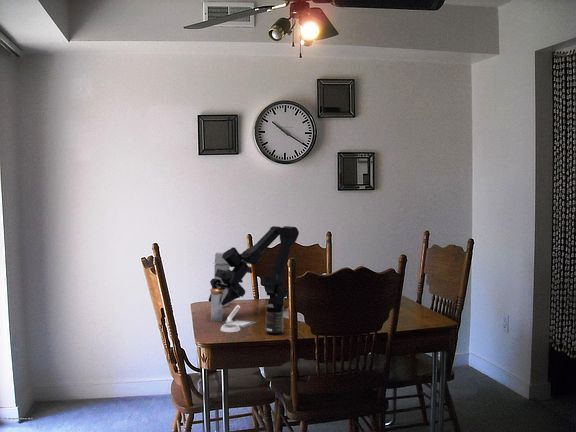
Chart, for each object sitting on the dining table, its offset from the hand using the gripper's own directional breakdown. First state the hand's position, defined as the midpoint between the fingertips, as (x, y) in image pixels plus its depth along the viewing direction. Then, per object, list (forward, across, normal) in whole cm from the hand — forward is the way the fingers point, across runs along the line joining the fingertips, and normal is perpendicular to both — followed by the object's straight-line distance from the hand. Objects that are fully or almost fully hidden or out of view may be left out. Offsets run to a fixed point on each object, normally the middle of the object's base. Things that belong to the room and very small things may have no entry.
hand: (215, 302), depth 220 cm
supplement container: (+1, +30, +10) cm, 32 cm away
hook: (+8, +16, +2) cm, 18 cm away
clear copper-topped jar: (+5, 0, +6) cm, 7 cm away
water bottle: (-8, -23, +19) cm, 31 cm away
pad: (+2, +12, +8) cm, 14 cm away
